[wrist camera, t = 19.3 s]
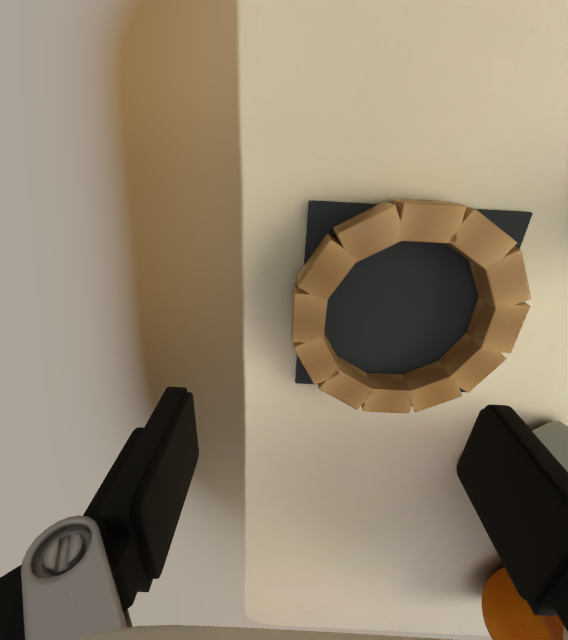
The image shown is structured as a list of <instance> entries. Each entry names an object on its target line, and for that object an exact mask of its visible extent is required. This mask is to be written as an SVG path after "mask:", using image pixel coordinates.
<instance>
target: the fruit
mask: <svg viewBox="0 0 568 640" xmlns="http://www.w3.org/2000/svg"><path fill="white" fill-rule="evenodd" d="M482 612H483V617H484V621H485V624H486V627H487V629H488V632H489V634H490V636H491V638H492V639H493V640H552V638H551V636H550V634H549V632H548V631H547V629H546V627H545V625H544V623H543V621H542V620H541V618H540V616H539V615H534V614H533V612H532V610H531V608H530V606H529V604H528V602H527V601H526V600H524V599H523V598H522V597H521V596H520V595H519V593H518V592H517V590H516V588H515V586H514V584H513V582H512V580H511V578H510V576H509V574H508V572H507V571H506V569H505V567H503V568H501V569H499V570H497V571H496V572H495V573H494V574H493V575H492V576H491V577H490V578H489V579H488V581H487V582H486V584H485V586H484V589H483V593H482Z"/></svg>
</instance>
